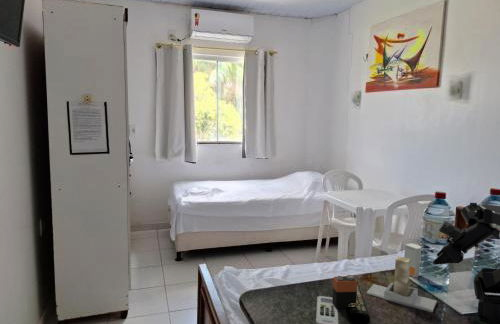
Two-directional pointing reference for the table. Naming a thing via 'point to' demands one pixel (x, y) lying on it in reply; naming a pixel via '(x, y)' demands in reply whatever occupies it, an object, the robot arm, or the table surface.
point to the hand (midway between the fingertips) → (435, 259)
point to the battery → (344, 291)
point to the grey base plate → (403, 297)
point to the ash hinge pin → (402, 275)
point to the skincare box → (413, 258)
